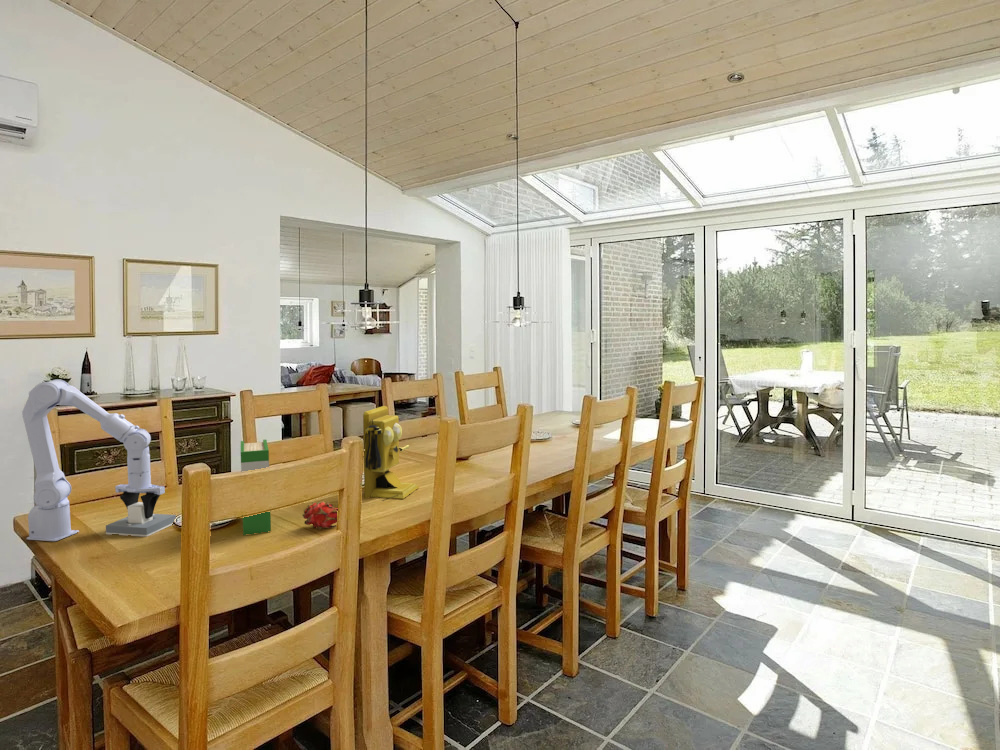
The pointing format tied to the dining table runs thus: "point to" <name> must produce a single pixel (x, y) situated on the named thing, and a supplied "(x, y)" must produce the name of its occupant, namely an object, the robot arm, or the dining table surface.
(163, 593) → the dining table surface
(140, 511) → the block
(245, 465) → the hardback book
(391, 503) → the dining table surface
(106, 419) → the robot arm
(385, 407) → the vintage telephone
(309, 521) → the dragon fruit
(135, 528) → the outlet box
